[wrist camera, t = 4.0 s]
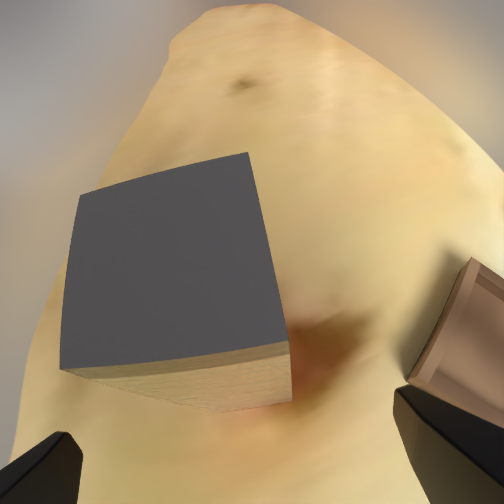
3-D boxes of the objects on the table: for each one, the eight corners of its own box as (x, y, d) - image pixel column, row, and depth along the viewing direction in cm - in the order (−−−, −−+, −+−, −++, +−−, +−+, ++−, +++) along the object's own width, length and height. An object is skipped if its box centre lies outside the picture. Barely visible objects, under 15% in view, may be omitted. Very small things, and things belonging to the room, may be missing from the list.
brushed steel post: (292, 401, 17) (288, 340, 5) (221, 412, 17) (59, 369, 5) (279, 335, 19) (248, 151, 7) (213, 347, 19) (80, 195, 7)
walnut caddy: (500, 440, 13) (518, 439, 11) (405, 381, 16) (417, 375, 14) (541, 329, 15) (557, 320, 14) (459, 271, 19) (471, 257, 17)
